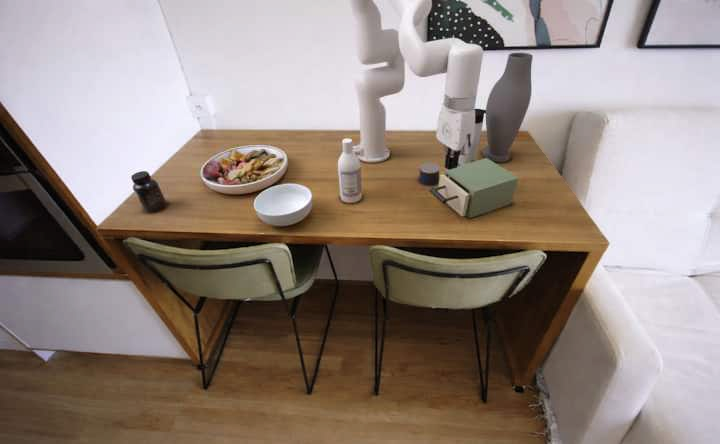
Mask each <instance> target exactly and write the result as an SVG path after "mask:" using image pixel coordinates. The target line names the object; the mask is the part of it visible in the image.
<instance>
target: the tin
mask: <svg viewBox="0 0 720 444" xmlns="http://www.w3.org/2000/svg"><path fill="white" fill-rule="evenodd" d="M440 171H441V167H440V165H439V164H437V163H434V162H424V163H422V164H420V166H419V179H418V180H419V183H420V184H422V185H423V186H434V185H437V184H439V179H440Z"/></svg>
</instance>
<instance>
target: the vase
mask: <svg viewBox="0 0 720 444" xmlns="http://www.w3.org/2000/svg"><path fill="white" fill-rule="evenodd" d="M533 58H534V55H533V54H531V53H528V52H511V53H509V54H508V56H507V60H506V64H505V68H504V71H503V73H502V75H501V77H500V78H499V79H498V80H497V81H496V82H495V84H494V85H493V86H492V88H491V90H490V92H489V95H488V97H487V102H486V106H485V110H486V114H485V128H486V137H487V139H486V140H487V145H486V146H484V147H483V148H482V153H481V154H482V156H483V157H484V159H485V158H488V159H489V160H491V161H493V162H495V163H496V162H497V163H504V162H507V161H509V160H510V158H511V152H510V149H511V147H512V146H513V143H514V142H515V140H516V138H517V136H518V134H519V131H520V129H521V127H522V124H523V122H524V119H525V116H526V114H527V112H528V109H529V106H530V103H531V98H532V64H533Z"/></svg>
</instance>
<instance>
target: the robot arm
mask: <svg viewBox="0 0 720 444" xmlns="http://www.w3.org/2000/svg"><path fill="white" fill-rule="evenodd" d="M389 2H390V4H391V5H392V7H393V9H394V10H395V12H396V13H397V16H398V17H399V20H400V22H399V27H398V30H397V29H394V28H386V29H383V27H382V15H381V11H380V9H379V7H378V6H377V4H376V3H375V2H374V0H348V3H349V6H350V9H351V12H352V17H353V25H354V27H353V28H354V37H355V48H356V55H357V60H358V61H359V63H360V64H362V65H363V66H372V65H377V64H383V63H385V65H384V66H378V67H377V66H376V67H373V68H369V69H365V70H362V71H360V72H359V73H358V74H357V75H356V77H355V79H354V87H355V91H356V97H357V103H358V113H359V115H358V116H359V133H360V141H359V144H357V145H353V152H354V153H355V154H356V155H357V157H358V159H359V161H362V162H366V163H370V164H371V163H381V162H384V161H386V160H387V159H389V157H390V155H391V152H390V150H389V149H388V148H387V147H386V145H387V139H386V138H387V111H386V107H385V105H384V104H383V102H381V100H380V99H381V98H385V97H387V96H391V95H395V94H398V93H400V92H402V90H403V89H404V87H405V82H406V65H407V67H408V68H409V69H410V71H411V72H412V74H413V75H415V76H416V77H418V78H428V77H432V76H436V75H441V74H446V77H445V88H444V95H443V96H444V97H443V103H441V107H440V109H439V114H438V119H437V125H436V133H435V134H436V135H435V137H436V140H437V141H438V142H440V143H441V144H443V146H444V154H445V159H444V168H445V169H448V170H450V169H454V168H457V167H458V166H459V165H458V161H459V156H460V155H463V156H464V155H468V148H470V147H471V146H472V143H473V137H474V129H475V109H476V101H477V96H478V88H479V83H480V76H481V70H482V64H483V59H484V49H483V47H482V46H481V45H479V44H476V43H467V42H465V41H464V40H462V39H460V38H457V37H448V38H443V39H436V40H430V41H425V42H424V41H423V39H421V37H420V35H419V34H418V31H417V30H416V28H417V27H418V26H419V25H420V24H421V23H422V22H424V20H426V18H427V17H428V16H429V14H430V13H431V10H432V8H433V1H432V0H389ZM405 63H406V64H405Z"/></svg>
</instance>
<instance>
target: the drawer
mask: <svg viewBox="0 0 720 444" xmlns="http://www.w3.org/2000/svg"><path fill="white" fill-rule="evenodd" d="M428 190H429V191H428V192H430V193H431V194H432V195H433V196H434V197H435V198H436V199H437V200H438V201H439V202H441V204H442V205H445V204H447V205H448V206H449V207H451V208H452V210H454V211H455V212H456V213H458V214H459V216H461V217H465V216H466V211H468V210H469V205H470V200H471V195H472V193H471V192H470V191H469V190H468V189H466V188H465V187H464V186H462V185H461V184H460V183H458V182H457V181H456V180H455V179H453V178H452V177H451V176H449V175H448V177H446V176H445V173H442V174H439V178H438V187H430V188H428Z"/></svg>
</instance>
